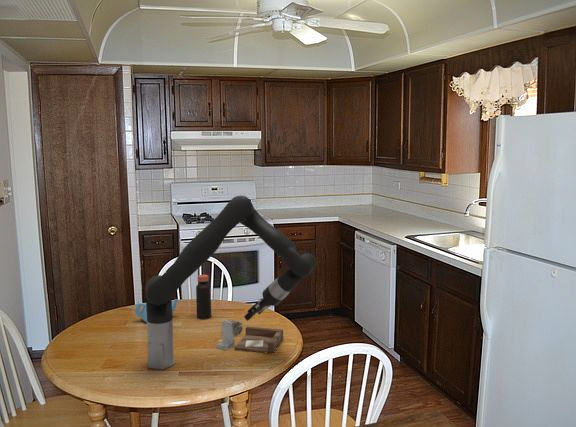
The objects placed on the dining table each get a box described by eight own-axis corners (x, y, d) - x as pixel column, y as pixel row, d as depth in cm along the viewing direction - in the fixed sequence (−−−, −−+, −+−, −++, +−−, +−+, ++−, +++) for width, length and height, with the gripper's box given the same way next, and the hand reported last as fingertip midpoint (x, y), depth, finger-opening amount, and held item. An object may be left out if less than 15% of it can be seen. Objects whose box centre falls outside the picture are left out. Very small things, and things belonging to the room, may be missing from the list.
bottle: (210, 314, 250) (209, 273, 247) (212, 318, 243) (211, 277, 240) (195, 315, 248) (194, 274, 245) (197, 320, 241) (196, 278, 238)
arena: (273, 353, 203) (273, 344, 203) (234, 349, 207) (234, 340, 207) (283, 338, 219) (283, 329, 218) (247, 335, 223) (246, 326, 222)
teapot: (152, 312, 252) (151, 290, 251) (179, 315, 247) (178, 294, 246) (133, 322, 238) (132, 300, 236) (161, 326, 233) (160, 303, 231)
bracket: (226, 350, 207) (226, 326, 205) (216, 348, 209) (216, 324, 208) (234, 345, 211) (234, 322, 210) (224, 343, 214) (224, 320, 212)
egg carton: (237, 337, 222) (237, 328, 221) (220, 335, 223) (220, 326, 222) (244, 328, 232) (244, 319, 231) (228, 326, 233) (228, 318, 233)
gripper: (280, 279, 204) (255, 302, 211) (261, 288, 192) (235, 313, 199) (292, 294, 203) (267, 317, 210) (273, 304, 190) (247, 328, 197)
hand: (252, 315), depth 204 cm, fingers open, 8 cm apart
